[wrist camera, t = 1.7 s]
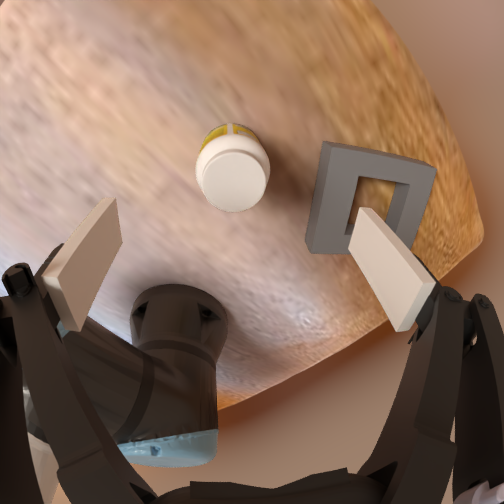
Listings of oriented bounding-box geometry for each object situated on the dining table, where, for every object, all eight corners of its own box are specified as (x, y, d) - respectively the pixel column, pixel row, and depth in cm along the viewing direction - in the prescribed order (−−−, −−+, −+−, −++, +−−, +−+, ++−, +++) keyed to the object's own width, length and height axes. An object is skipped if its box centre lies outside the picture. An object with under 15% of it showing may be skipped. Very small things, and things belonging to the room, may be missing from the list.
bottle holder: (398, 244, 38) (407, 255, 35) (304, 240, 36) (310, 253, 33) (423, 161, 31) (436, 168, 28) (322, 140, 29) (331, 146, 26)
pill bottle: (204, 179, 30) (195, 225, 21) (199, 125, 27) (185, 146, 18) (260, 175, 31) (276, 219, 22) (259, 121, 27) (276, 139, 18)
